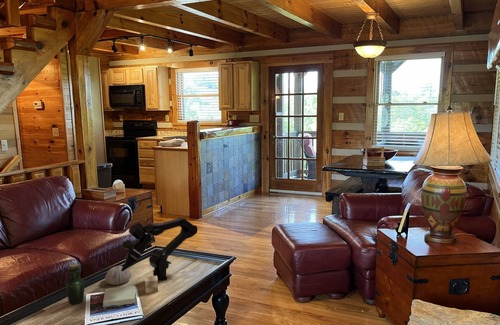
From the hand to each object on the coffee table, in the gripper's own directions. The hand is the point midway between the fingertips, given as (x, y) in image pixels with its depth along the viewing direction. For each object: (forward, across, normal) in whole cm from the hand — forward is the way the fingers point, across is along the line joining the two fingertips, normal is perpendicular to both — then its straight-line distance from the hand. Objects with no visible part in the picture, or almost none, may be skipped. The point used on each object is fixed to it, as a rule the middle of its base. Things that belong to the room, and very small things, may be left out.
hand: (122, 270), depth 194 cm
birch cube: (-1, -2, +18) cm, 18 cm away
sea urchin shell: (+4, -18, +2) cm, 19 cm away
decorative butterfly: (-17, -33, +16) cm, 40 cm away
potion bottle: (+23, -3, -8) cm, 24 cm away
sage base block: (+12, +3, +8) cm, 14 cm away
